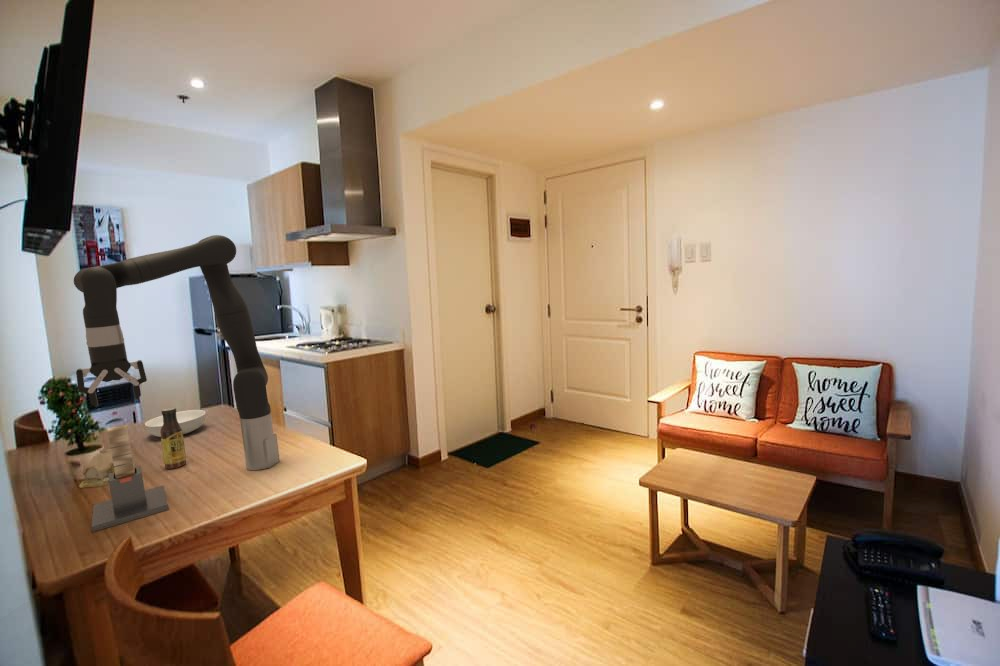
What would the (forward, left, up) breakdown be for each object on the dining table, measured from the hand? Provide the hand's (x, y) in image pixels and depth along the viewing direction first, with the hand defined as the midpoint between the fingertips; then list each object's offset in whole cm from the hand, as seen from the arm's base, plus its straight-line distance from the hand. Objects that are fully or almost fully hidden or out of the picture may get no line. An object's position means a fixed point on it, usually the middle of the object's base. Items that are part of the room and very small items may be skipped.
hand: (117, 402), depth 127 cm
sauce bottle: (+11, -28, -31) cm, 43 cm away
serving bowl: (+38, -61, -31) cm, 78 cm away
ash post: (0, +1, -23) cm, 23 cm away
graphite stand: (0, +1, -30) cm, 30 cm away
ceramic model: (+28, -19, -31) cm, 45 cm away
